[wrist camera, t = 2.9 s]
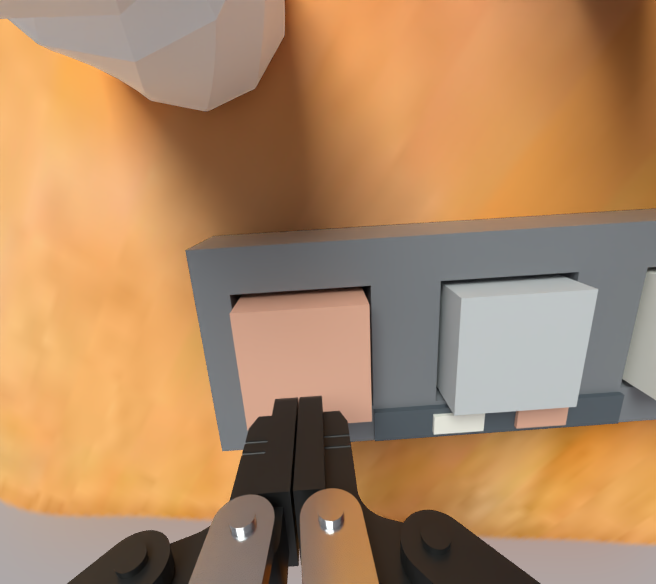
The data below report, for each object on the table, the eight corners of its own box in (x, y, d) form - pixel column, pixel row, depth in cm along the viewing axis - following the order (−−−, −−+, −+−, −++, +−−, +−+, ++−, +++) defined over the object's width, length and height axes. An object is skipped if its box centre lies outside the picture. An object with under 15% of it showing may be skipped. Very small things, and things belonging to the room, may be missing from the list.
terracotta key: (359, 283, 16) (369, 304, 13) (362, 383, 18) (372, 421, 15) (244, 290, 16) (229, 313, 13) (258, 390, 18) (247, 430, 15)
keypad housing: (725, 204, 18) (852, 210, 14) (678, 370, 21) (770, 418, 17) (213, 236, 18) (181, 252, 13) (239, 401, 21) (219, 458, 16)
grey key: (548, 270, 16) (598, 289, 13) (534, 371, 18) (576, 406, 15) (435, 278, 16) (461, 298, 13) (431, 378, 18) (454, 415, 15)
